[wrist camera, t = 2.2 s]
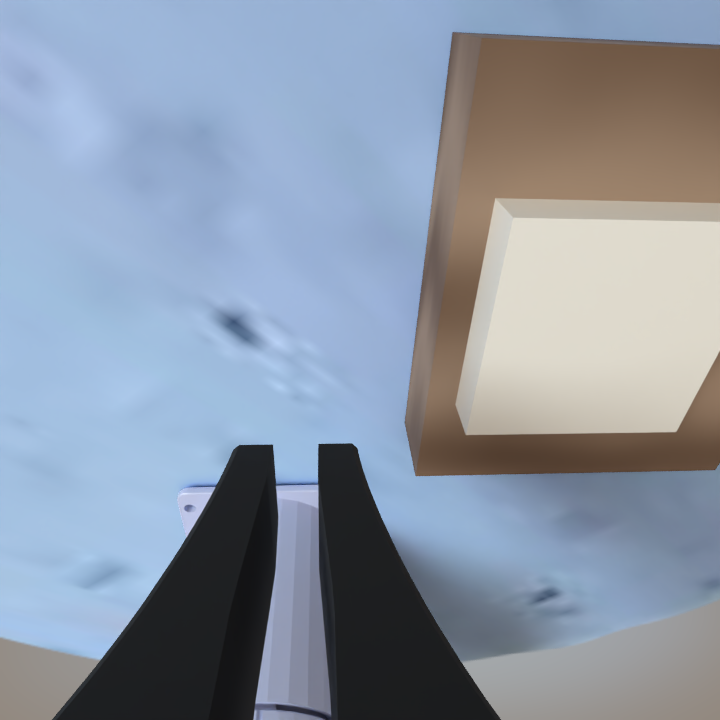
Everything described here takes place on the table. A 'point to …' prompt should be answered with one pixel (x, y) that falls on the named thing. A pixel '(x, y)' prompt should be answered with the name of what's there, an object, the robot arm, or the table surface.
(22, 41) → the table surface
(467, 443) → the board
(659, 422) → the coaster
